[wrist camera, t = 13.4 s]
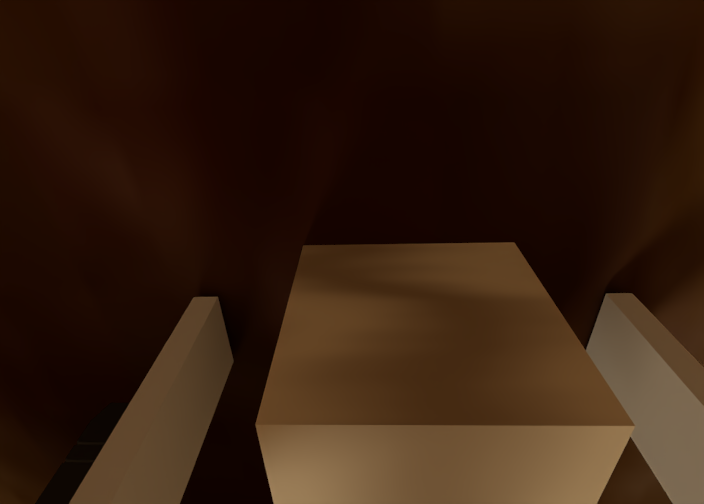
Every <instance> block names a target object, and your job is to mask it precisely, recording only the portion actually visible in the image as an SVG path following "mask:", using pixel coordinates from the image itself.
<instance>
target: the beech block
mask: <svg viewBox="0 0 704 504" xmlns="http://www.w3.org/2000/svg"><path fill="white" fill-rule="evenodd" d="M255 426H256V430H257V434H258V438H259V443H260V447H261V451H262V456H263V460H264V464H265V468H266V473H267V477H268V481H269V486H270V490H271V494H272V498H273V503H274V504H597V502H598V500H599V498H600V496H601V494H602V492H603V490H604V488H605V486H606V484H607V482H608V480H609V478H610V476H611V474H612V472H613V470H614V468H615V466H616V464H617V462H618V460H619V458H620V456H621V454H622V452H623V450H624V448H625V446H626V444H627V442H628V440H629V438H630V436H631V434H632V432H633V430H634V428H635V425H634V423H633V422H632V420H631V419H630V417H629V416H628V414H627V413H626V411H625V410H624V408H623V406H622V405H621V403H620V402H619V400H618V399H617V397H616V396H615V394H614V393H613V391H612V390H611V388H610V387H609V385H608V384H607V382H606V381H605V379H604V378H603V376H602V375H601V373H600V372H599V370H598V369H597V367H596V366H595V364H594V362H593V361H592V359H591V358H590V356H589V355H588V353H587V352H586V350H585V349H584V347H583V346H582V344H581V343H580V341H579V340H578V338H577V337H576V335H575V334H574V332H573V331H572V329H571V328H570V326H569V325H568V323H567V322H566V320H565V318H564V317H563V315H562V314H561V312H560V311H559V309H558V308H557V306H556V305H555V303H554V302H553V300H552V299H551V297H550V296H549V294H548V293H547V291H546V290H545V288H544V287H543V285H542V284H541V282H540V281H539V279H538V278H537V276H536V274H535V273H534V271H533V270H532V268H531V267H530V265H529V264H528V262H527V261H526V259H525V258H524V256H523V255H522V253H521V252H520V250H519V249H518V247H517V246H516V244H515V243H514V242H502V243H432V244H363V245H303V248H302V251H301V255H300V259H299V263H298V266H297V270H296V274H295V278H294V281H293V285H292V289H291V293H290V296H289V300H288V304H287V308H286V311H285V315H284V319H283V323H282V326H281V330H280V334H279V338H278V341H277V345H276V349H275V353H274V356H273V360H272V364H271V368H270V371H269V375H268V379H267V383H266V386H265V390H264V394H263V398H262V401H261V405H260V409H259V413H258V416H257V420H256V424H255Z"/></svg>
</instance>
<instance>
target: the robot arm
mask: <svg viewBox="0 0 704 504" xmlns="http://www.w3.org/2000/svg"><path fill="white" fill-rule="evenodd" d="M586 352H587V353H588V355H589V356H590V358H591V359H592V361H593V362H594V364H595V366H596V367H597V369H598V370H599V372H600V373H601V375H602V376H603V378H604V379H605V381H606V382H607V384H608V385H609V387H610V388H611V390H612V391H613V393H614V394H615V396H616V397H617V399H618V400H619V402H620V403H621V405H622V406H623V408H624V410H625V411H626V413H627V414H628V416H629V417H630V419H631V420H632V422H633V423H634V425H635V428H634V430H633V432H632V434H631V438H632V440H633V441H634V443H635V444H636V446H637V447H638V449H639V451H640V452H641V454H642V455H643V457H644V459H645V460H646V462H647V463H648V465H649V466H650V468H651V470H652V471H653V473H654V474H655V476H656V478H657V479H658V481H659V482H660V484H661V486H662V487H663V489H664V490H665V492H666V493H667V495H668V497H669V498H670V500H671V501H672V503H673V504H704V367H703V366H702V365H701V364H700V363H699V362H698V361H697V360H696V359H695V358H694V357H693V356H692V355H691V354H690V353H689V352H688V351H687V350H686V349H685V348H684V347H683V346H682V345H681V343H680V342H679V341H678V340H677V339H676V338H675V337H674V336H673V335H672V334H671V333H670V332H669V331H668V330H667V329H666V328H665V327H664V326H663V325H662V324H661V323H660V322H659V321H658V320H657V318H656V317H655V316H654V315H653V314H652V313H651V312H650V311H649V310H648V309H647V308H646V307H645V306H644V305H643V304H642V303H641V302H640V301H639V300H638V299H637V298H636V297H635V296H634V295H633V294H632V293H606V295H605V297H604V300H603V303H602V306H601V309H600V312H599V314H598V317H597V320H596V323H595V326H594V329H593V331H592V334H591V337H590V340H589V343H588V346H587V349H586ZM233 362H234V360H233V356H232V352H231V348H230V344H229V340H228V336H227V332H226V328H225V323H224V319H223V315H222V311H221V307H220V303H219V299H218V297H193V299H192V301H191V302H190V304H189V306H188V307H187V309H186V311H185V312H184V314H183V316H182V317H181V319H180V321H179V322H178V324H177V326H176V327H175V329H174V331H173V332H172V334H171V336H170V337H169V339H168V341H167V342H166V344H165V345H164V347H163V349H162V350H161V352H160V354H159V355H158V357H157V359H156V360H155V362H154V364H153V365H152V367H151V369H150V370H149V372H148V374H147V375H146V377H145V379H144V380H143V382H142V384H141V385H140V387H139V388H138V390H137V392H136V393H135V395H134V397H133V398H132V400H131V402H130V403H110V404H109V405H108V406H107V407H106V408H105V409H104V410H102V411H101V412H100V413H99V414H98V415H97V416H96V417H95V418H93V419H92V420H91V421H90V423H89V424H88V426H87V427H86V429H85V430H84V432H83V433H82V435H81V436H80V438H79V439H78V441H77V445H76V446H75V445H74V447H73V448H72V450H71V451H70V453H69V454H68V456H67V457H66V461H65V463H62V465H61V466H60V468H59V469H58V470H57V472H56V473H55V475H54V476H53V478H52V479H51V481H50V482H49V484H48V485H47V487H46V488H45V490H44V491H43V493H42V494H41V496H40V497H39V499H38V500H37V502H36V503H35V504H180V502H181V499H182V497H183V494H184V491H185V489H186V486H187V484H188V481H189V478H190V476H191V473H192V470H193V468H194V465H195V462H196V460H197V457H198V454H199V452H200V449H201V446H202V444H203V441H204V438H205V436H206V433H207V431H208V428H209V425H210V423H211V420H212V417H213V415H214V412H215V409H216V407H217V404H218V401H219V399H220V396H221V393H222V391H223V388H224V385H225V383H226V380H227V378H228V375H229V372H230V370H231V367H232V364H233Z"/></svg>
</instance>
